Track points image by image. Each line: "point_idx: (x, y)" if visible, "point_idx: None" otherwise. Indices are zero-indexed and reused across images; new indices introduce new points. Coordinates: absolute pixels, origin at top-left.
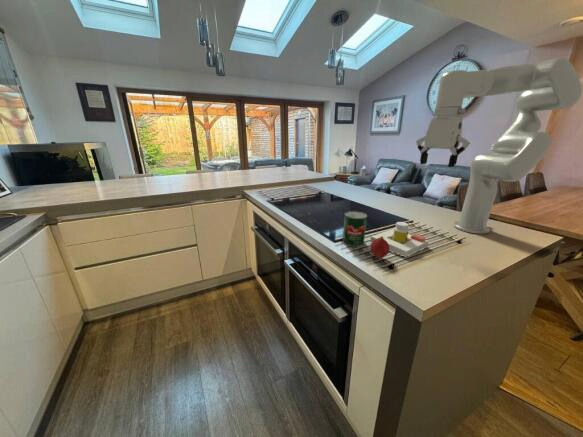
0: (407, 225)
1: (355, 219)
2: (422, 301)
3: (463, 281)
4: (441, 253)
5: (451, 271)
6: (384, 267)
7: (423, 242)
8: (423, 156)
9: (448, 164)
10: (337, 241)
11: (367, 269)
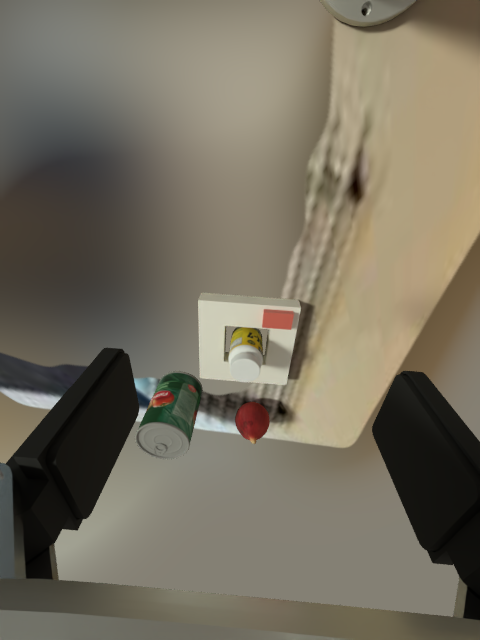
0: (259, 372)
1: (181, 452)
2: (346, 442)
3: (385, 374)
4: (332, 304)
5: (364, 359)
6: (275, 417)
7: (294, 324)
8: (103, 484)
9: (379, 448)
10: None
11: None
